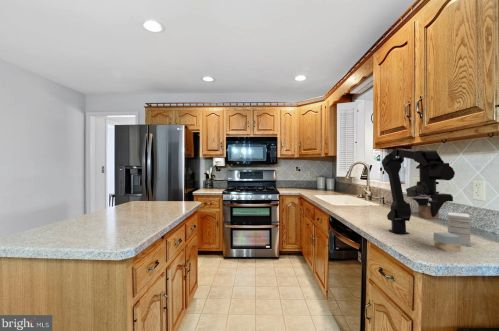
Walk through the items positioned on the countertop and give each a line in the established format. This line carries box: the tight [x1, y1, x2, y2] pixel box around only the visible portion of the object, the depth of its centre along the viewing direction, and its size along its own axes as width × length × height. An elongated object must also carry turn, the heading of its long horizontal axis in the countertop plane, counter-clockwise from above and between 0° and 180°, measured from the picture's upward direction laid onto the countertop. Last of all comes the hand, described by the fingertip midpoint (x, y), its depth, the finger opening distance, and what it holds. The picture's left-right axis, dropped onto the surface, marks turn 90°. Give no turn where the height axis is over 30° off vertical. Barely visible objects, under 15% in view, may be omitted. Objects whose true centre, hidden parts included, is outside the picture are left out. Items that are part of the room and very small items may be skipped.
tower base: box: [433, 239, 462, 252], centre depth 99 cm, size 6×6×3 cm
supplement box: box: [447, 212, 472, 247], centre depth 106 cm, size 7×7×13 cm
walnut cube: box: [417, 204, 440, 220], centre depth 103 cm, size 5×5×5 cm
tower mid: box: [433, 231, 460, 244], centre depth 99 cm, size 6×6×3 cm
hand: (428, 215), depth 103 cm, fingers closed on walnut cube, 5 cm apart
